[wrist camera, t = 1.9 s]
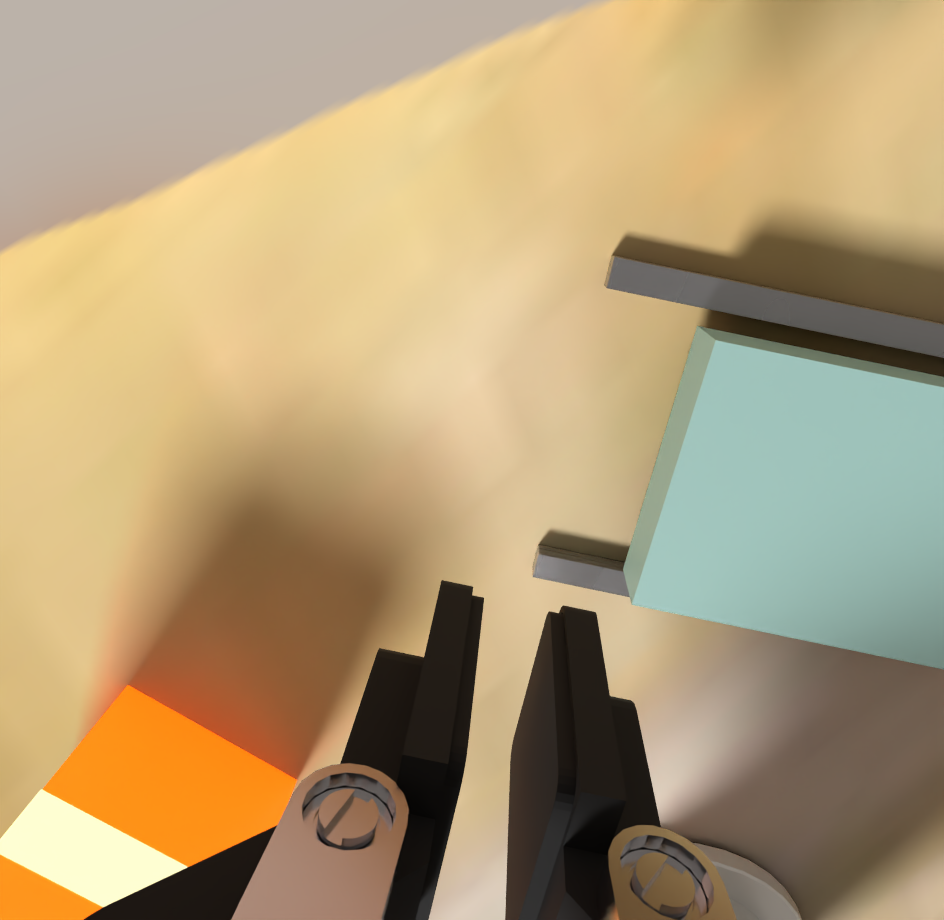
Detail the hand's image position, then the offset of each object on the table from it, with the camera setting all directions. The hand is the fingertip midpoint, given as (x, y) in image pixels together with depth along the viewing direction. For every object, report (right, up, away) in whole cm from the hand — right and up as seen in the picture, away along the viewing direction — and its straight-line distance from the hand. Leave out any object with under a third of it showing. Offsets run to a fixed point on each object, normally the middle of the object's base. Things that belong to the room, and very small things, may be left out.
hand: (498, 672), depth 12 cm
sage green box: (+11, +3, +14) cm, 18 cm away
